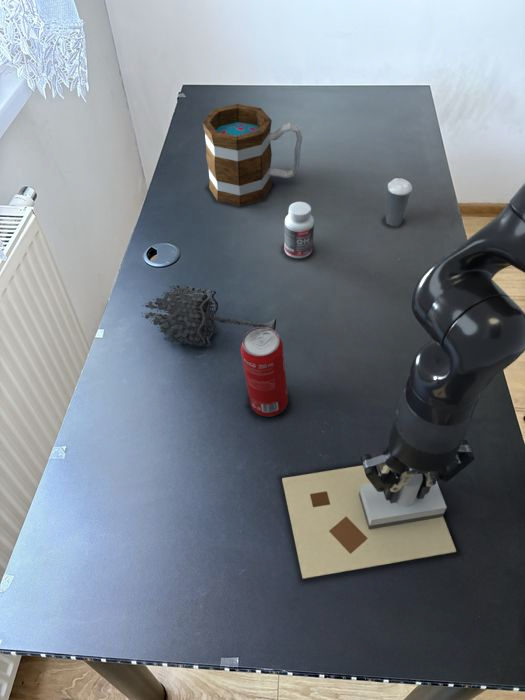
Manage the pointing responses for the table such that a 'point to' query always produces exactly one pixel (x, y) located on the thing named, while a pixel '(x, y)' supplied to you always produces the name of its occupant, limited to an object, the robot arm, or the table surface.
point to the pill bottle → (299, 230)
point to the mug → (243, 153)
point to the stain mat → (351, 526)
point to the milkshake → (397, 200)
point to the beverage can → (265, 371)
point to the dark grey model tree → (191, 315)
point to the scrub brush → (401, 504)
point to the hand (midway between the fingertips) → (404, 494)
